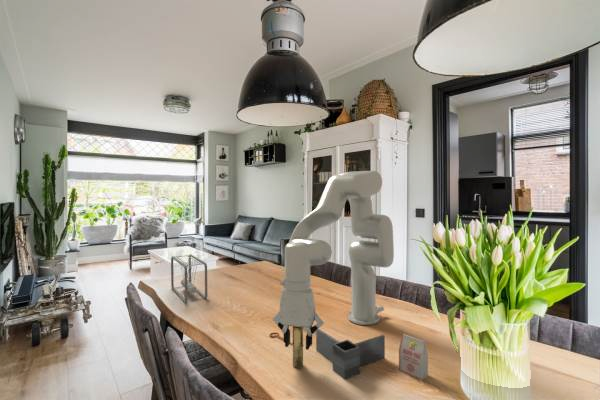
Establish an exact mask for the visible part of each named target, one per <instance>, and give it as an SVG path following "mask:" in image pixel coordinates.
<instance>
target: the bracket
mask: <svg viewBox="0 0 600 400" xmlns="http://www.w3.org/2000/svg"><path fill="white" fill-rule="evenodd" d="M315 332H316V333H315V338H316V339H315V343H316V345H315V347H316V348H315V350H316V352H317V353H319V354H320V355H321V356H323V357H324V358H325V359H327V360H328V361H330V362H331V363H332V371H333V372H334V373H336V374H337V375H338V376H339V377H341V378H342V379H343V380H348V379H350V378H353V377H356V376H358V375H360V374H361V368H363V367H366V366H368V365H371V364H374V363H376V362H380V361H382V360H384V359H386V357H385V356H386V355H385V354H386V353H385V352H386V351H385V350H386V347H385V346H386V345H385V344H386V342H385V341H386V340H385V338H386V336H385V335H384V334H381V335H378V336H376V337H372V338H368V339H366V340H363V341H359V342H356V343H354V342H352V341H350V340H349V339H345V340H342V341H339V340H337V339H335V338H334V337H332V336H331V335H329V334H327V333H326V332H325V331H323V330H321V329H320V328H318V329H317V330H316V331H315Z"/></svg>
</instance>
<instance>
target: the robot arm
mask: <svg viewBox="0 0 600 400" xmlns="http://www.w3.org/2000/svg"><path fill="white" fill-rule="evenodd" d="M382 186H383V177H382V175H381V174H380V173H379V172H378V171H376V170H360V171H358V170H356V171H345V172H342V173H340V174H336V175H332V176H331V177H330V178H329V179H328V180H327V183H326V184H325V187H324V189H323V192H322V194H321V196H320V199H319V202H318V203H317V205H316V208H315V209H314V210H312V211H311V212H310V213H308V214H307V215H306V216H304V217H303V218H302V219H301V220H300V221H299V222H298V223H297V224H296V226H295V227H294V229H293V231H292V234H291V236H290V237H289V241H288V243H287V244H286V245H284V246H285V247H284V279H281V280H279V284H280V285H283V288H282V289H281V292H280V293H281V294H280V301H279V311H278V312H277V313H276V315H275V316H274V317H272V321H273V322H274V323H275V324H276V325H277V326H278V328H279V329H280V330H281V333H282V334H283V338H284V341H283V343H284V347H285V348H288V347H289V345H290V342H291V329H290V327H293V326H296V327H303V328H305V331H306V334H305V335H306V336H305V350H310V347H311V346H313V334H314V333H315V332H316V330H317V329H320V328H321V327H322V326H323V325H324V320H323V319H322V318H321V317H320V316H319V315H318V313H317V312H316V306H315V305H316V304H315V302H316V301H315V296H314V291H313V289H312V288H311V266H321V265H324V264H326V263H328V262H329V261H330V259H331V257H332V255H333V254H332V253H333V251H332V250H333V249H332V247H331V245H330V244H329V242H327V241H325V240H322V239H313V238H309V237H310V236H311V235H312V234H313V233H314V232H315V231H317V230H319V229H321V228H323V227H326V226H329V225H333V224H334V223H336V222H338V221H339V220H340V218H341V216H342V213H343V211H344V207H345V205H346V202H347V201H348V203H349V206H350V223H351V224H350V225H351V232H352V235H353V236H354V237H357V238H361V239H362V240H354V241H353V242H352V243H351V244H350V245H349V248H348V256H349V257H348V258H349V261H350V269H351V271H350V272H351V273H350V275H351V281H350V283H351V285H350V286H351V312H349V313H348V314H347V320H348V321H350V322H351V323H353V324H356V325H361V326H371V325H376V324H377V323H378V324H379V322H380V320H381V319H380V315H378V314H379V313H381V312H384V311H385V307H384V306H382V305H380V306H377V305H376V304H377V303H376V300H377V299H376V293H377V292H376V288H377V287H376V285H377V284H376V281H377V279H376V273H375V271H374V269H373V267H377V268H389V267H391V266H392V265H393V263H394V257H395V256H394V255H395V251H394V249H395V248H394V247H395V246H394V227H393V223H392V219H391V218H390V217H389V216H388V215H385V214H376V213H374V212H373V202H372V199H371V196H373V195H376V194H378V193H379V192H380V191H381V189H382ZM363 239H371V240H363ZM372 240H377V241H372ZM314 322H315V324H314Z"/></svg>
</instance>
